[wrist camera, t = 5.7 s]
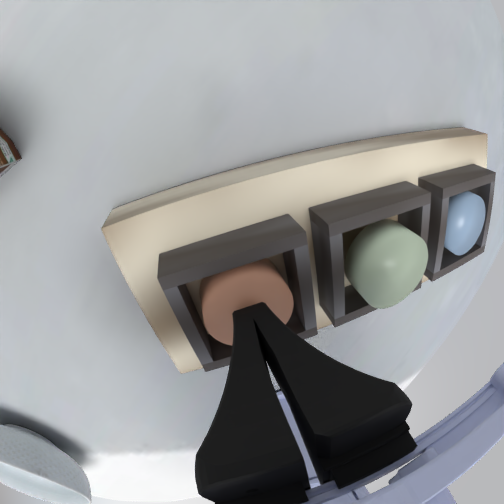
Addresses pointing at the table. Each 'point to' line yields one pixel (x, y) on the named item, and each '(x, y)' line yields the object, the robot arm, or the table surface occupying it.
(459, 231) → the button blue
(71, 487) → the cereal bowl
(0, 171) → the food container
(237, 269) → the button terracotta
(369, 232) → the button sage
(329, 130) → the table surface
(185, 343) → the button board
